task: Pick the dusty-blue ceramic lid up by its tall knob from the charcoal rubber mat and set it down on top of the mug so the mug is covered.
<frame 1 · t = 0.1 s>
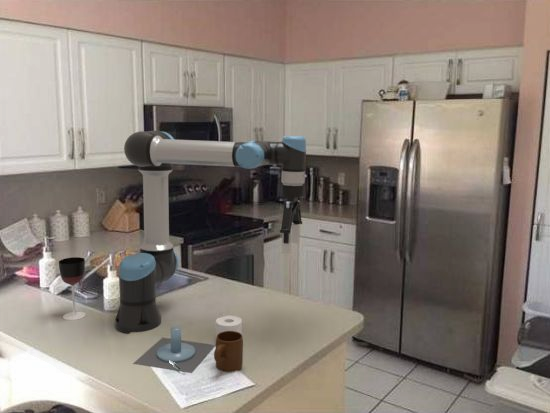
hand: (290, 247, 165), 28 cm above the counter, fingers open, 13 cm apart
lid: (176, 353, 147), point 1 cm above the counter, touching mat
wineglass: (74, 316, 175), on the counter
toilet paper: (229, 339, 160), on the counter
mug: (225, 371, 140), on the counter
mat: (176, 355, 148), on the counter
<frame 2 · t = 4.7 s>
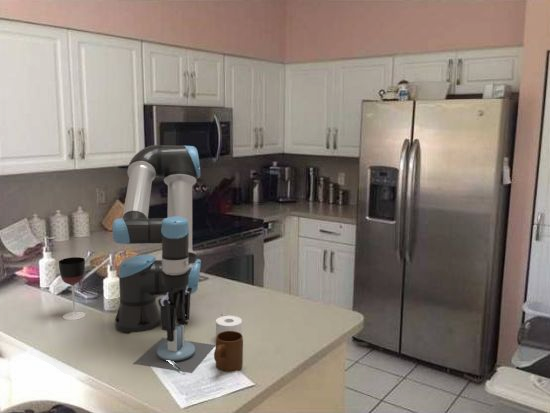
hand: (176, 347, 147), 3 cm above the counter, fingers closed on lid, 3 cm apart
lid: (176, 351, 147), point 1 cm above the counter, touching gripper
everything else where it was.
when the fingers open (13 cm above the counter, at t = 8.0 s): lid drops 2 cm, resting on mug.
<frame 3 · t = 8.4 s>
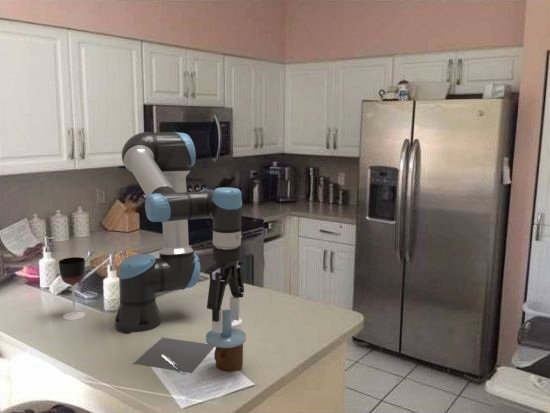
hand: (226, 325, 137), 13 cm above the counter, fingers open, 9 cm apart
lid: (225, 339, 138), point 9 cm above the counter, touching mug
mug: (225, 371, 140), on the counter, touching lid
everything else where it was.
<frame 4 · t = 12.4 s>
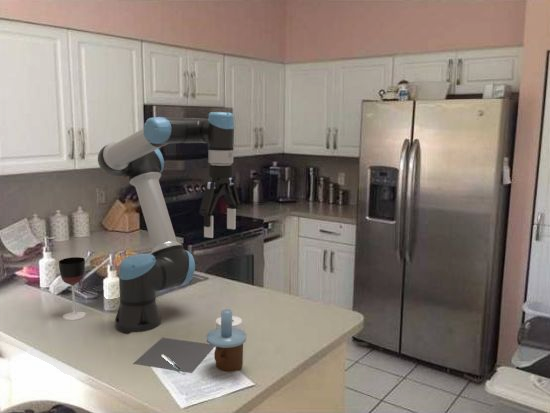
hand: (220, 232, 154), 35 cm above the counter, fingers open, 13 cm apart
nothing on the counter moved.
at the end: lid 0.2 cm from the mug (horizontally); lid point 9.4 cm above the counter; the gripper is holding nothing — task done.
